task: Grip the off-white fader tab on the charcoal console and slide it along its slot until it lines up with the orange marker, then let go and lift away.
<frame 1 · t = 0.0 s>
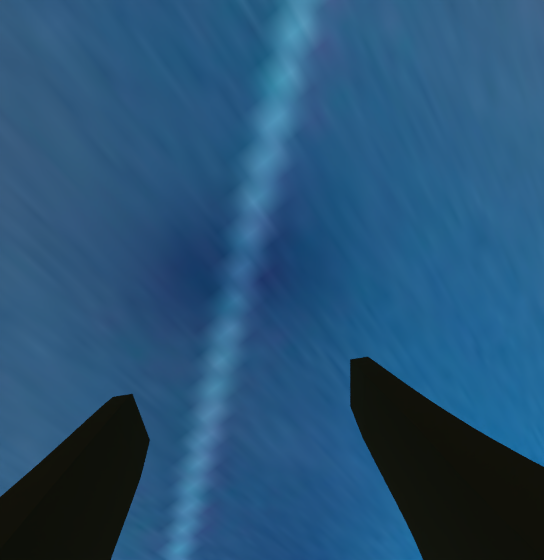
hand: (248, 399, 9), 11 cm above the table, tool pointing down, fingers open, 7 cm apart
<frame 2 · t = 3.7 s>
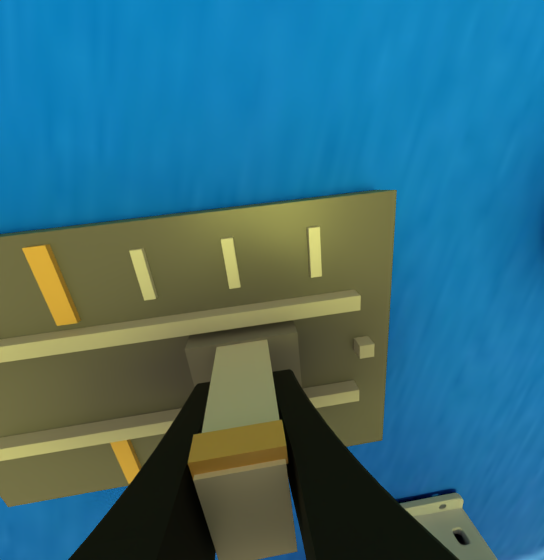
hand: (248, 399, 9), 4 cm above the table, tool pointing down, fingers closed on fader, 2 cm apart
fader: (248, 411, 8), point 4 cm above the table, slide at -3.0 cm, touching gripper
console: (182, 349, 12), on the table
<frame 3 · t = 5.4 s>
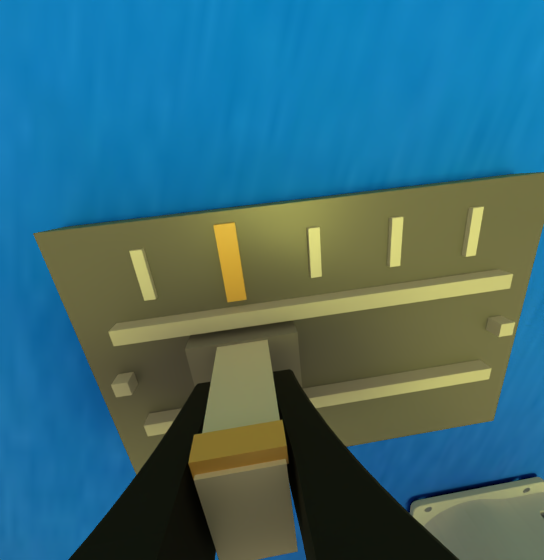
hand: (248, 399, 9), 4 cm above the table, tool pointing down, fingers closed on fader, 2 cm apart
fader: (248, 411, 8), point 4 cm above the table, slide at 3.0 cm, touching gripper
console: (310, 331, 12), on the table
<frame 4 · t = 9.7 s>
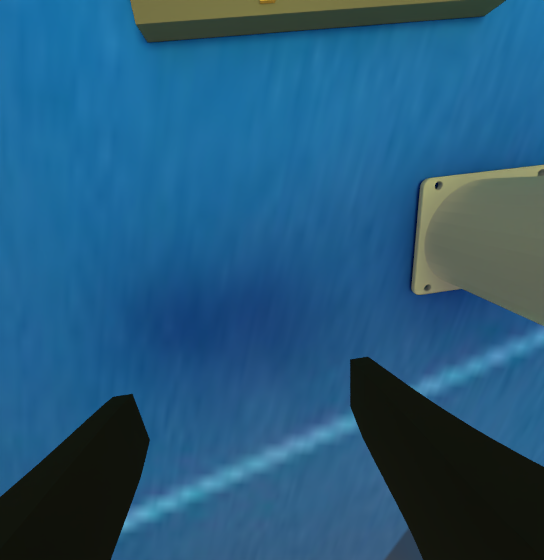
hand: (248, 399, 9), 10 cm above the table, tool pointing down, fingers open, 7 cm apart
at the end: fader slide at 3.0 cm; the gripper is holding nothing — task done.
